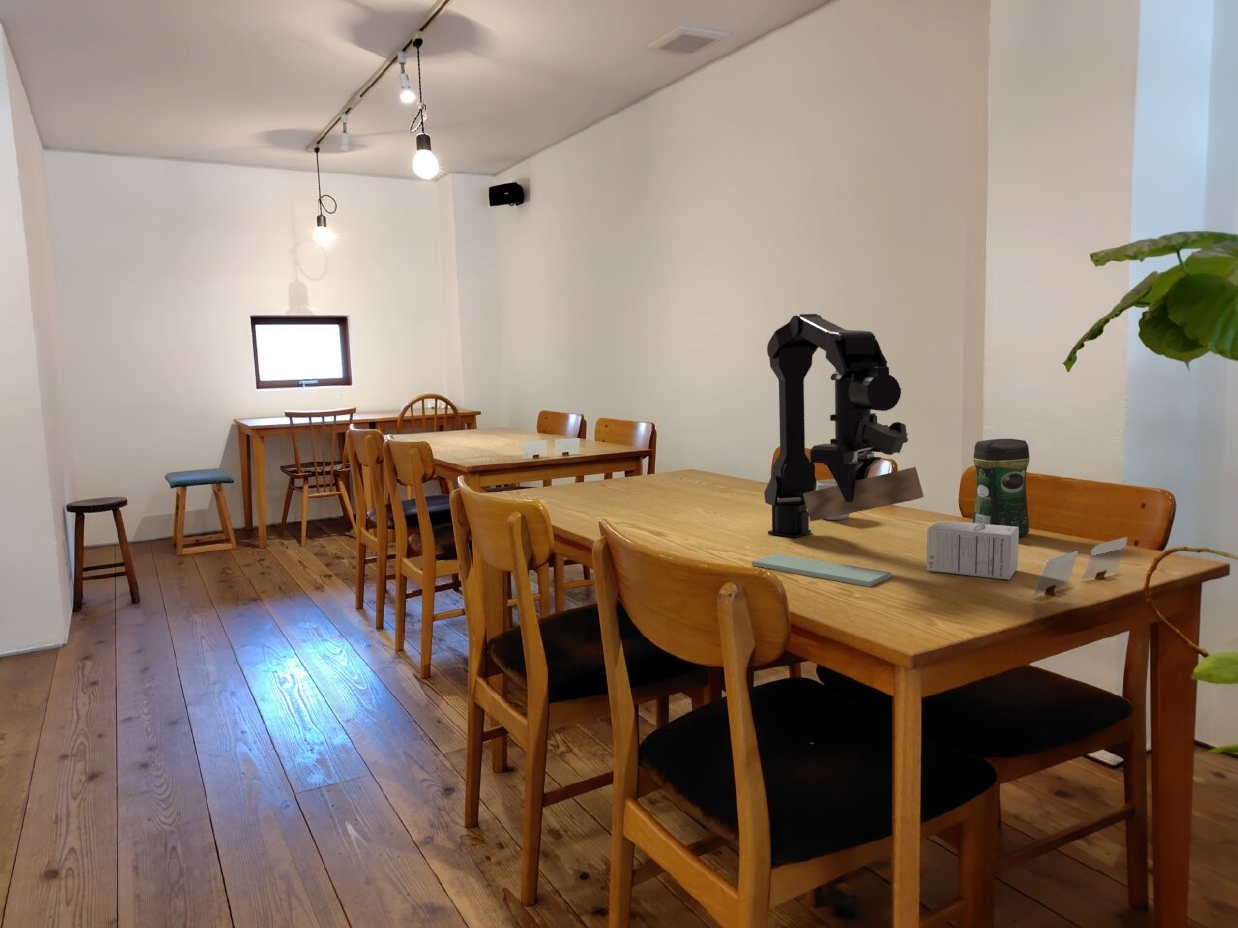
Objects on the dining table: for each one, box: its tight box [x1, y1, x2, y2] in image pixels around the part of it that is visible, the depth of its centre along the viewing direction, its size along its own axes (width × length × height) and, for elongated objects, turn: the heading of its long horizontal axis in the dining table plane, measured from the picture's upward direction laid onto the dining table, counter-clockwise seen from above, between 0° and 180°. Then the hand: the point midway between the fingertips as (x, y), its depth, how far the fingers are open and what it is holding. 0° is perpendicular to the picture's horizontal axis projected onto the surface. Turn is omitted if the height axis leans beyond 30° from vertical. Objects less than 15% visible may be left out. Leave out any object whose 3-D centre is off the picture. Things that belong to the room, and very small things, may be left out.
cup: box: [816, 479, 851, 521], centre depth 181 cm, size 11×8×8 cm
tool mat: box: [751, 553, 892, 588], centre depth 139 cm, size 22×7×1 cm, turn 46°
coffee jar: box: [972, 438, 1031, 537], centre depth 160 cm, size 10×8×19 cm
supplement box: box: [926, 520, 1020, 581], centre depth 135 cm, size 7×7×13 cm
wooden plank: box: [803, 466, 925, 522], centre depth 140 cm, size 20×2×5 cm, turn 46°
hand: (853, 500), depth 141 cm, fingers closed on wooden plank, 2 cm apart
